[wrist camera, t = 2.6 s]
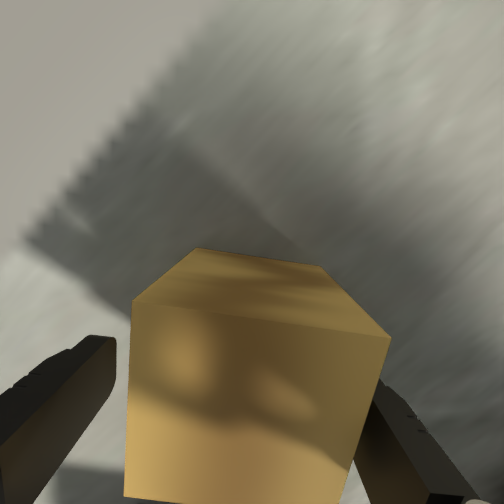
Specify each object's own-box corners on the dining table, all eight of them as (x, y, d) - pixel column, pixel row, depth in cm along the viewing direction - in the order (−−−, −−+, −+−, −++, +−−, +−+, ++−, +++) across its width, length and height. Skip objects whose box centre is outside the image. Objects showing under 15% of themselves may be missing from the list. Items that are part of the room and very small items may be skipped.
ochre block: (319, 266, 11) (392, 338, 5) (295, 371, 13) (332, 522, 7) (196, 247, 11) (131, 300, 5) (185, 356, 12) (123, 496, 7)
